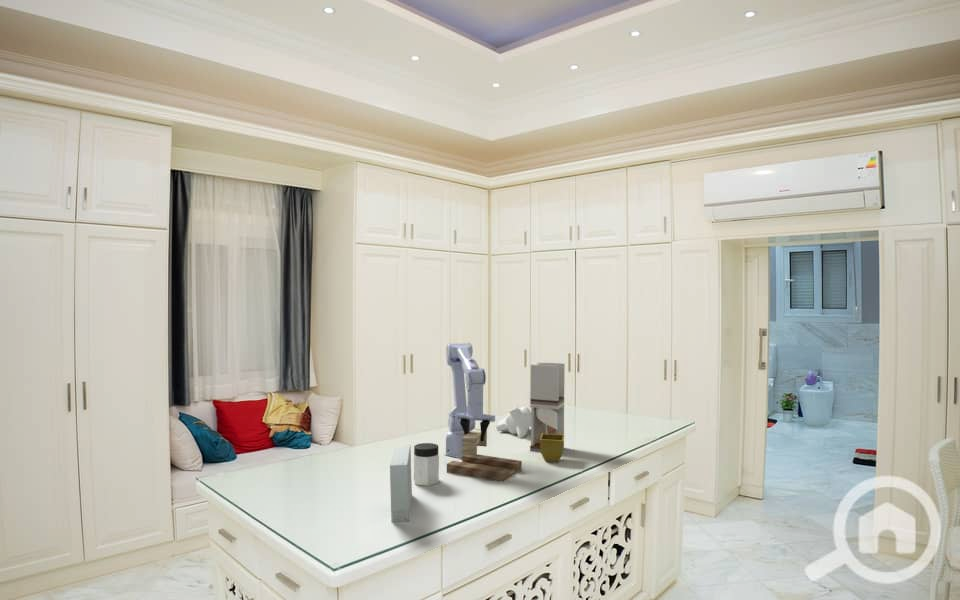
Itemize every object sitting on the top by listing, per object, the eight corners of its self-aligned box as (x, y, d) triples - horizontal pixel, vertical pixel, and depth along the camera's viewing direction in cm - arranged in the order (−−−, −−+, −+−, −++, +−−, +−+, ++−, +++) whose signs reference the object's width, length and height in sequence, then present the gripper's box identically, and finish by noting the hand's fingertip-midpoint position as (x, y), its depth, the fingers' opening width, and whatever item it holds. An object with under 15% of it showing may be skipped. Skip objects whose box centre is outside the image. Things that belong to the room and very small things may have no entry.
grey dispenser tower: (530, 451, 224) (530, 364, 224) (537, 444, 234) (538, 362, 234) (557, 454, 220) (558, 366, 220) (563, 447, 230) (564, 363, 230)
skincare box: (394, 495, 172) (394, 444, 172) (412, 495, 173) (412, 444, 173) (389, 522, 151) (389, 464, 151) (409, 522, 152) (409, 464, 152)
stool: (475, 455, 192) (476, 438, 192) (462, 454, 193) (462, 437, 193) (486, 445, 205) (486, 429, 205) (473, 444, 207) (474, 428, 207)
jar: (408, 484, 183) (408, 447, 183) (418, 476, 190) (418, 441, 190) (433, 487, 180) (434, 450, 180) (442, 479, 188) (443, 444, 188)
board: (446, 472, 195) (446, 463, 195) (467, 460, 210) (467, 452, 210) (503, 481, 186) (503, 473, 186) (521, 469, 200) (521, 460, 200)
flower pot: (563, 464, 206) (563, 440, 206) (539, 462, 208) (539, 438, 208) (564, 457, 215) (564, 434, 215) (541, 456, 217) (541, 433, 217)
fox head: (495, 412, 267) (488, 417, 247) (527, 400, 264) (523, 405, 245) (504, 438, 265) (498, 446, 245) (537, 427, 263) (533, 434, 243)
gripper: (452, 403, 198) (452, 441, 198) (491, 405, 194) (491, 444, 194) (458, 400, 204) (458, 436, 204) (496, 402, 200) (496, 439, 200)
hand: (474, 440), depth 199 cm, fingers closed on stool, 5 cm apart
